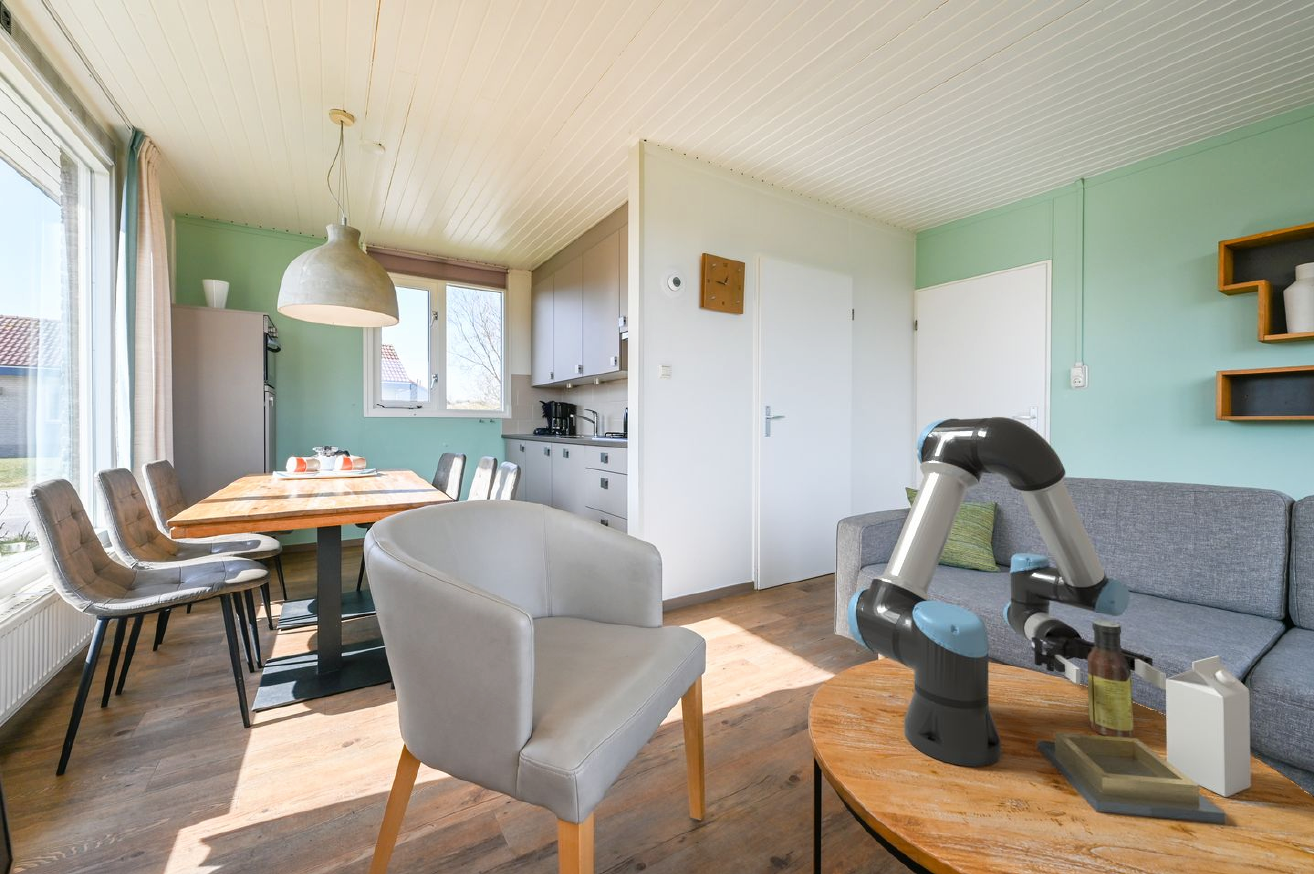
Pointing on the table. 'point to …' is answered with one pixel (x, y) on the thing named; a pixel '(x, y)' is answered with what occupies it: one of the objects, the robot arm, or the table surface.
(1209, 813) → the plate
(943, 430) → the robot arm
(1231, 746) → the milk carton
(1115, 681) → the sauce bottle
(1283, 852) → the table surface
